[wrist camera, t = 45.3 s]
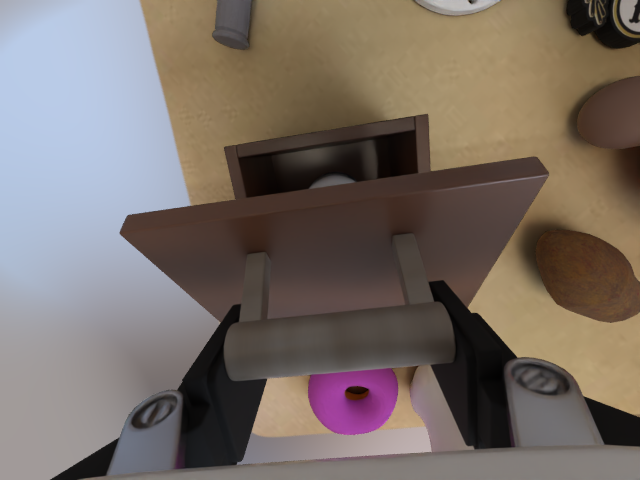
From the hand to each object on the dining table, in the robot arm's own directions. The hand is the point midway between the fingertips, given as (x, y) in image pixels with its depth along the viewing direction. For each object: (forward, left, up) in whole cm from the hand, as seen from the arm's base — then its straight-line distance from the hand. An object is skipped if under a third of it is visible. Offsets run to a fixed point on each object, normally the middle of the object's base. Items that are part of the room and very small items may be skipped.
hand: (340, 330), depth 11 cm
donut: (+20, -1, -21) cm, 29 cm away
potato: (+8, +22, -21) cm, 31 cm away
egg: (-5, +26, -19) cm, 32 cm away
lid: (+1, 0, -4) cm, 5 cm away
